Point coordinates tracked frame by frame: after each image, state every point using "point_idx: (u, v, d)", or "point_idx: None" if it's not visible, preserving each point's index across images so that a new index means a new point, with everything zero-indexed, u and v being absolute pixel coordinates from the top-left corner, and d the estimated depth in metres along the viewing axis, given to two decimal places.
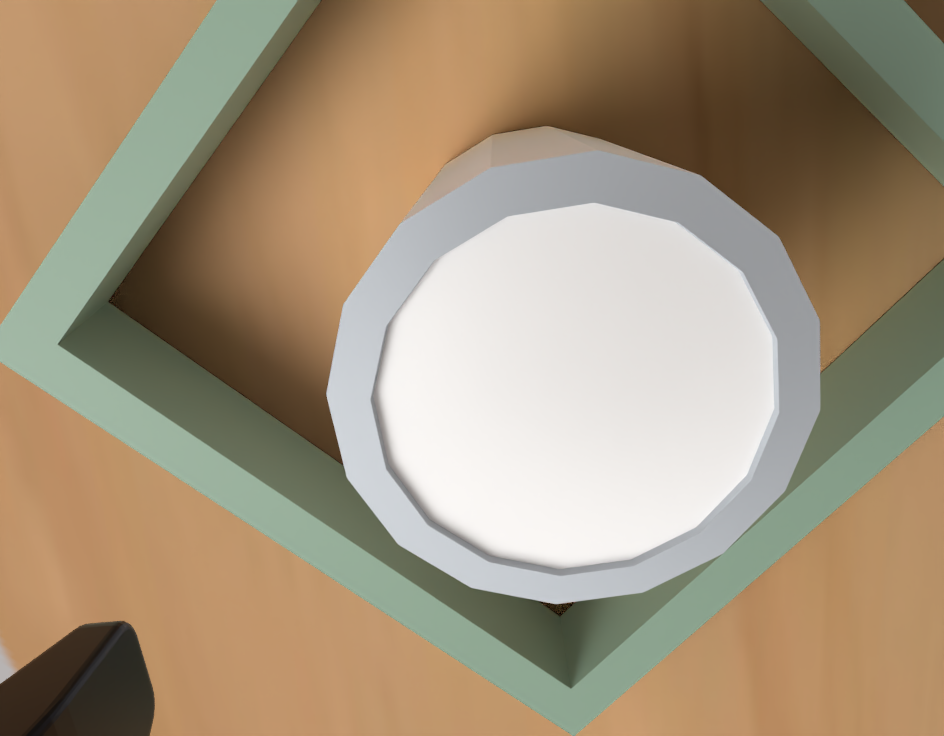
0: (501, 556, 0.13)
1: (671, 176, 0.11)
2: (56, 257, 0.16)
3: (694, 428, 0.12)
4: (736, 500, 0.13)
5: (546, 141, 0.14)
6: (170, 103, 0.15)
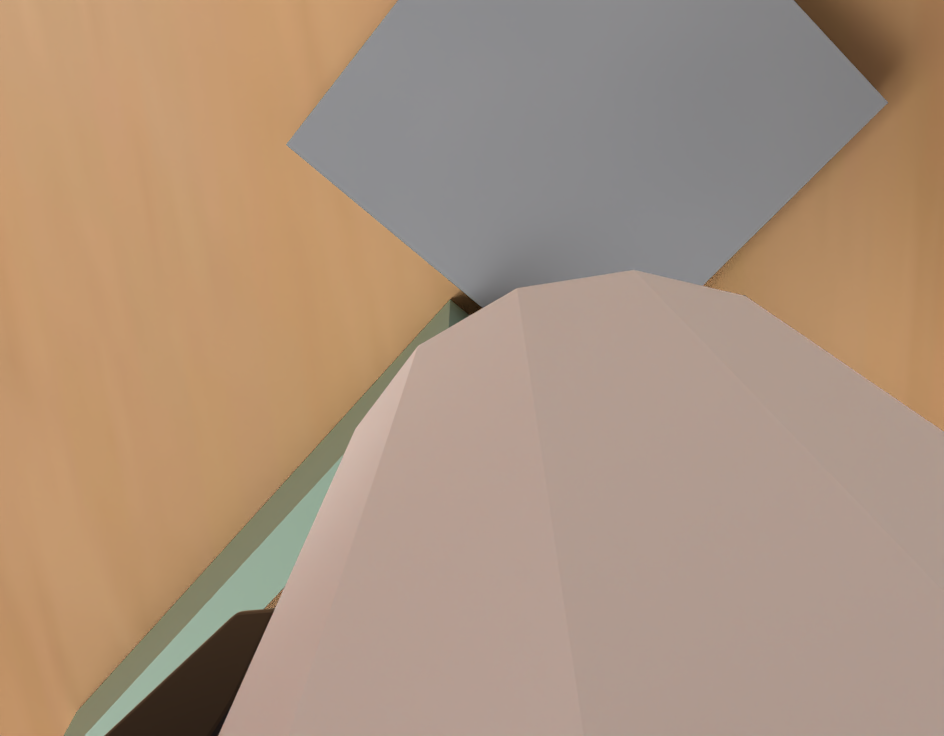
0: None
1: None
2: (94, 732, 0.20)
3: None
4: None
5: (719, 453, 0.04)
6: (189, 641, 0.19)
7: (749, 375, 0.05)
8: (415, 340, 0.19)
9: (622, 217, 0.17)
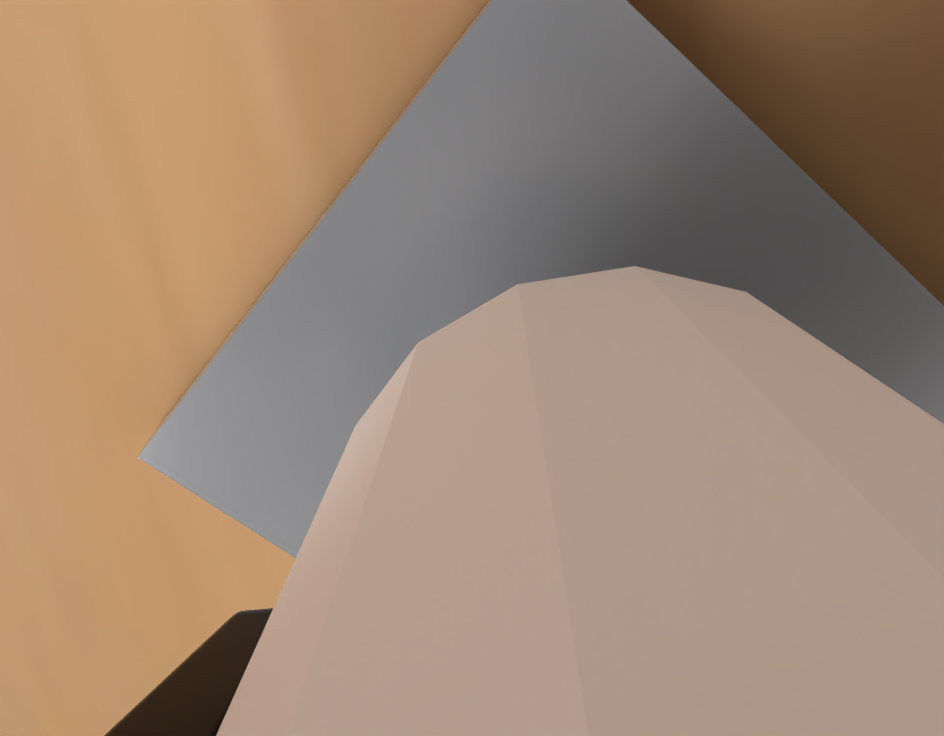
0: None
1: None
2: None
3: None
4: None
5: (722, 446, 0.04)
6: None
7: (751, 369, 0.05)
8: None
9: None
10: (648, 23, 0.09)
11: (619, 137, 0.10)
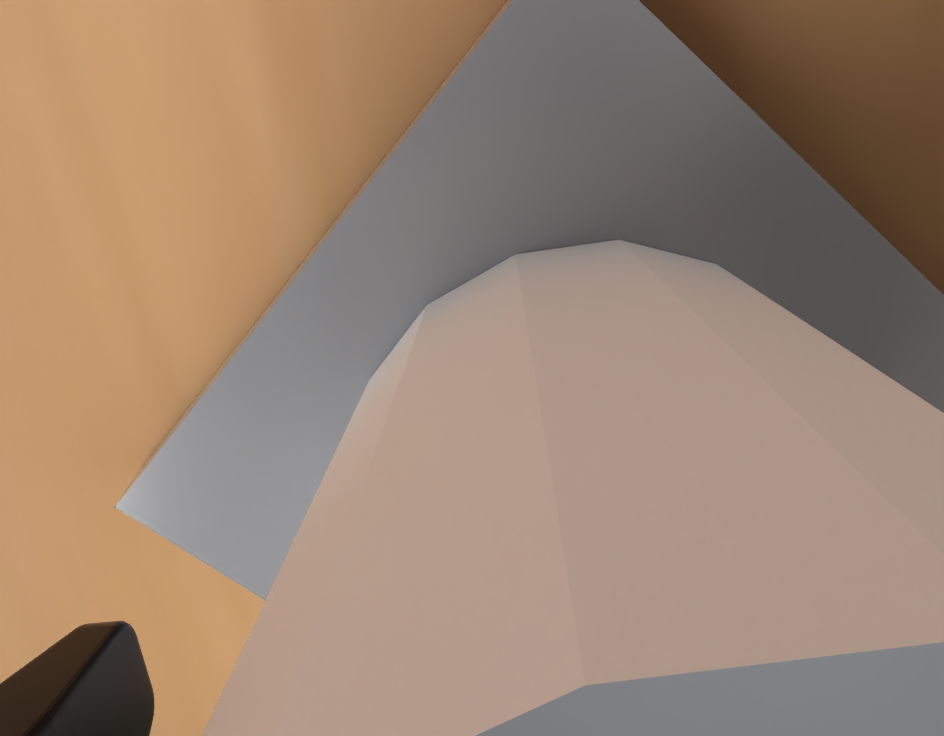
0: None
1: None
2: None
3: None
4: None
5: (676, 365, 0.05)
6: None
7: (707, 315, 0.06)
8: None
9: None
10: (675, 38, 0.08)
11: (642, 163, 0.09)
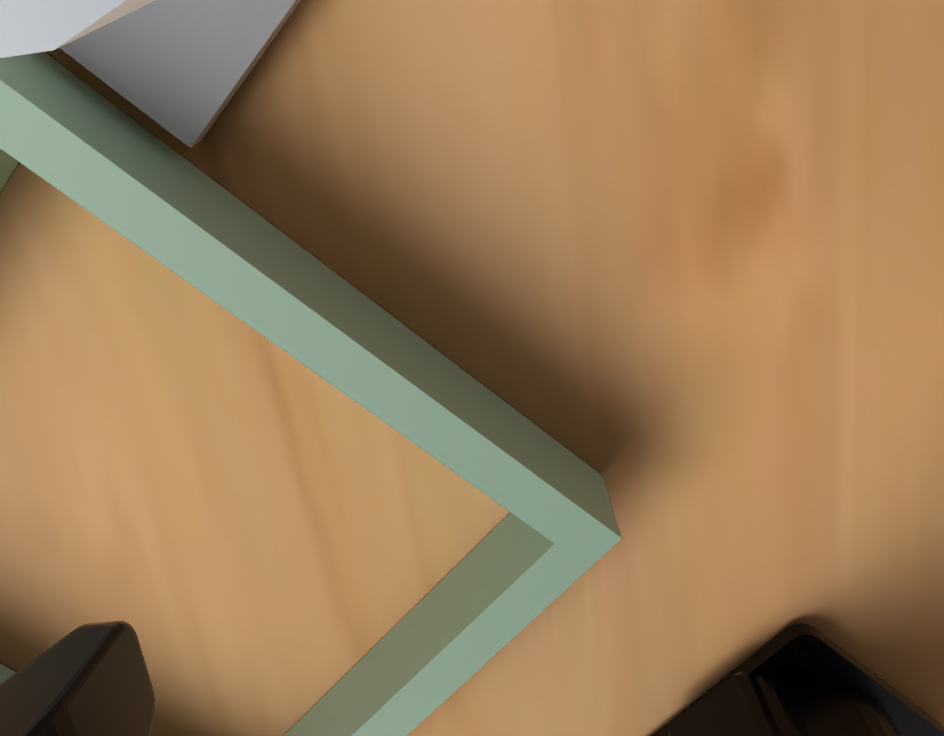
0: None
1: None
2: None
3: None
4: None
5: None
6: None
7: None
8: None
9: None
10: None
11: None
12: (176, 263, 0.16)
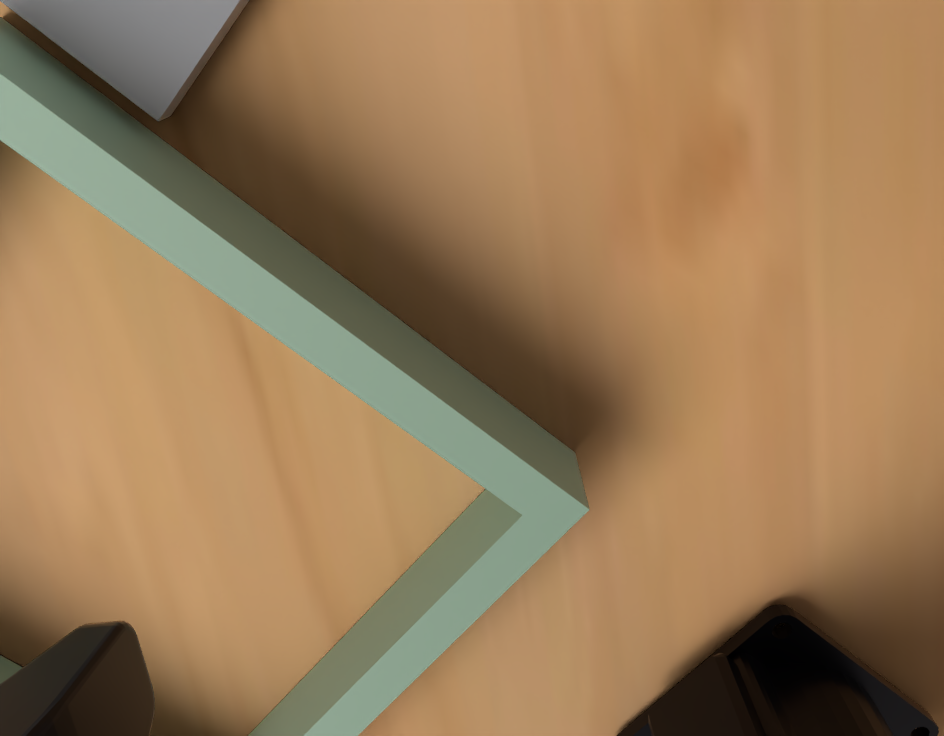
0: None
1: None
2: None
3: None
4: None
5: None
6: None
7: None
8: None
9: None
10: None
11: None
12: (141, 231, 0.16)
